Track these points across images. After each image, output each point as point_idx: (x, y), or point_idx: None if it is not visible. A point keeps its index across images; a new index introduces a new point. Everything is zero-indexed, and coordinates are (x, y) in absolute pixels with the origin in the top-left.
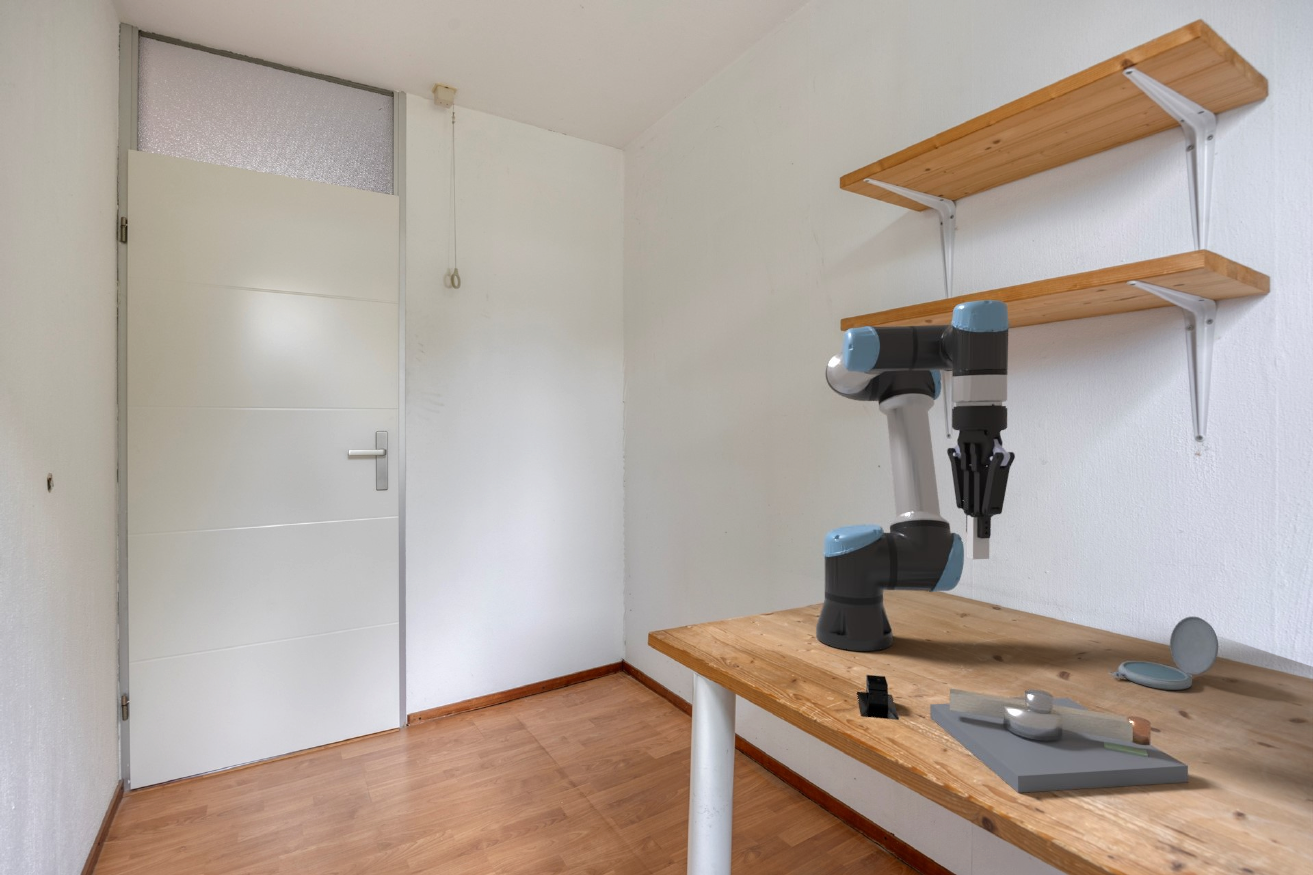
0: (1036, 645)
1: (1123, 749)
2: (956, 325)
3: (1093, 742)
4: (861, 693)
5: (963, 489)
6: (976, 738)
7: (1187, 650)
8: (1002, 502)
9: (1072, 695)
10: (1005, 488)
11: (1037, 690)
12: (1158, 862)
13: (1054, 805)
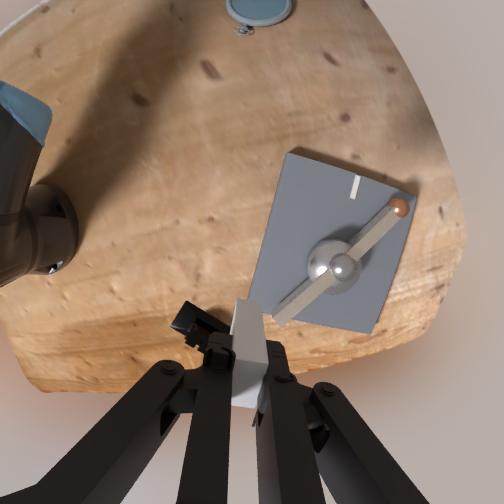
0: (132, 32)
1: None
2: None
3: None
4: (177, 327)
5: (154, 441)
6: (318, 321)
7: None
8: (356, 415)
9: (257, 111)
10: (385, 451)
11: (338, 262)
12: (437, 308)
13: (386, 317)
